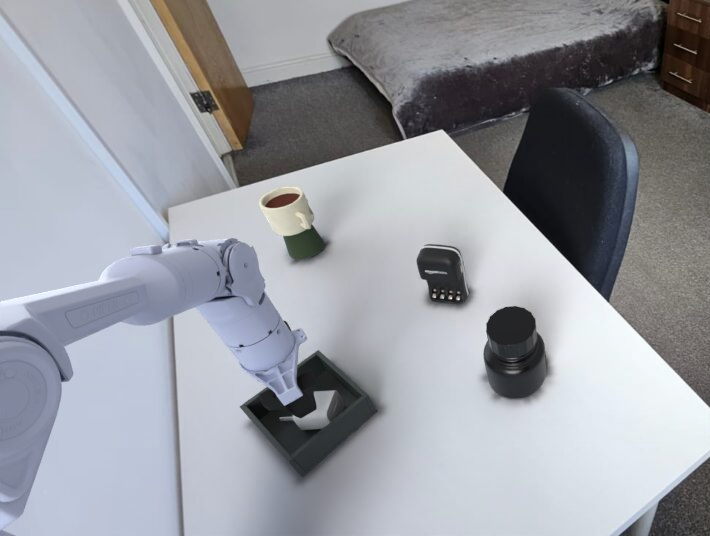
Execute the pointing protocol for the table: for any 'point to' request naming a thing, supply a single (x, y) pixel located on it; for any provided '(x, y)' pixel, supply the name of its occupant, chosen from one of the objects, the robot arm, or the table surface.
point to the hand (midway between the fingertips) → (298, 391)
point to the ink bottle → (514, 353)
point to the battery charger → (443, 273)
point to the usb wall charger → (320, 411)
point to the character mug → (292, 220)
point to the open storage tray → (314, 444)
